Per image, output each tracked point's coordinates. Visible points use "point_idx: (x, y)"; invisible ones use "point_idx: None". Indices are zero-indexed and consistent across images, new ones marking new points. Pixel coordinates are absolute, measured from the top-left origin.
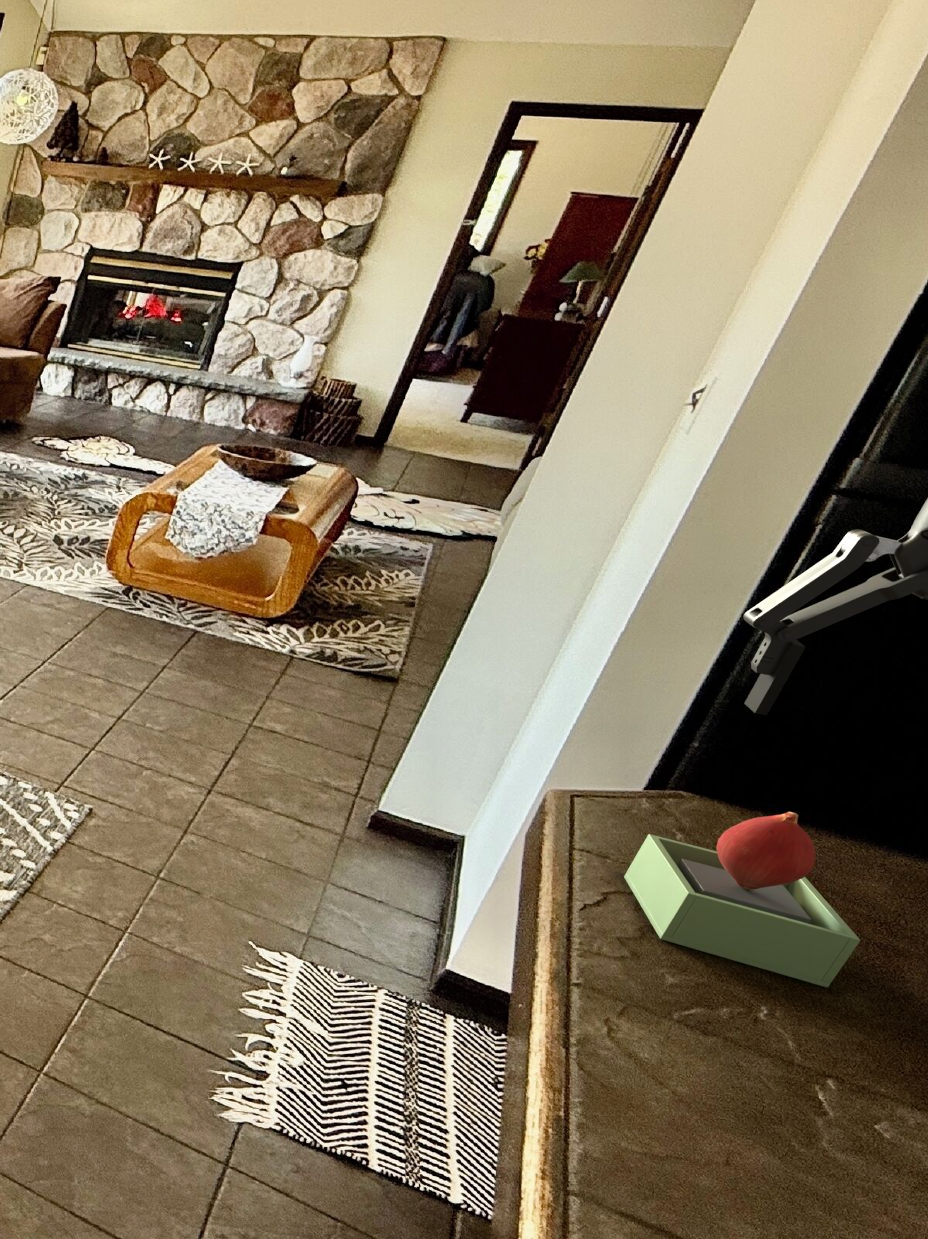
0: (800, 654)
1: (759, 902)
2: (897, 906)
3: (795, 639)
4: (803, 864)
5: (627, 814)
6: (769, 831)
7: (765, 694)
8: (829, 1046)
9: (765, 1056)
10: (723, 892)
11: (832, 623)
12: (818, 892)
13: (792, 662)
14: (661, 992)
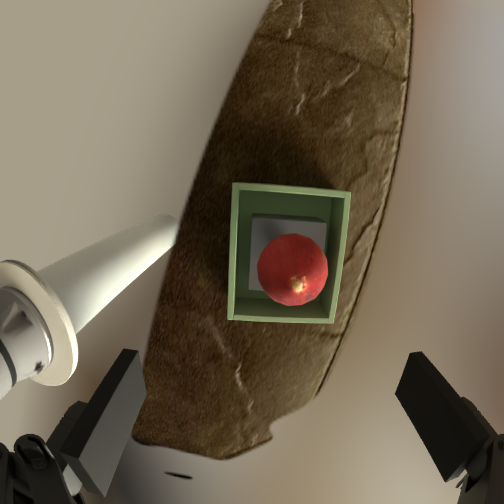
0: (470, 429)
1: (286, 227)
2: (144, 372)
3: (493, 445)
4: (275, 242)
5: (273, 419)
6: (313, 260)
7: (437, 371)
8: (271, 79)
9: (317, 44)
10: (311, 230)
11: (488, 494)
12: (228, 281)
13: (464, 415)
14: (359, 95)
